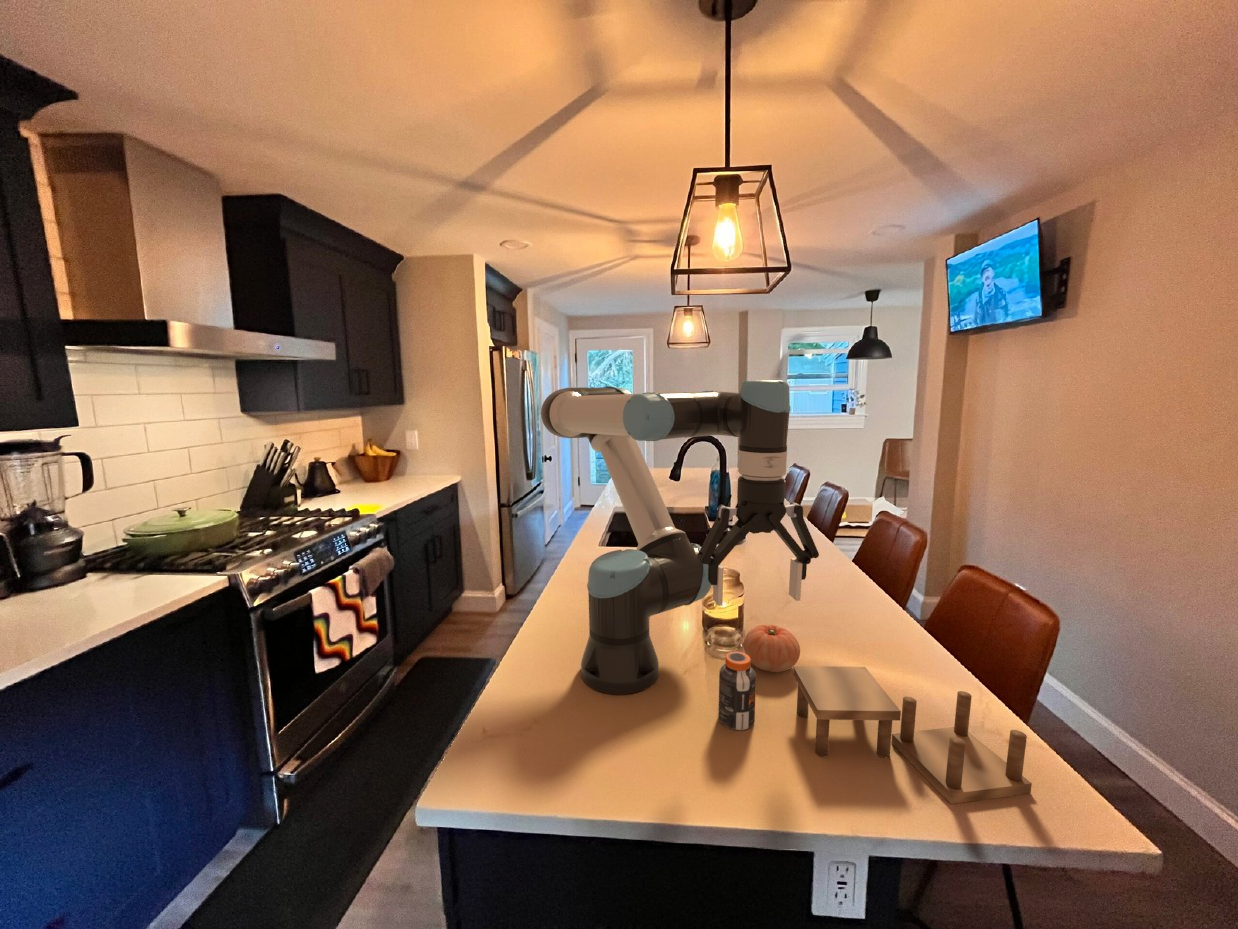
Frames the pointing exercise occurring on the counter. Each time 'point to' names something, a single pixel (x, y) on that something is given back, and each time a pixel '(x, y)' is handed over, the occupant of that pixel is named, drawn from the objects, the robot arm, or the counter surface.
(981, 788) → the upturned stool
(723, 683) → the pill bottle
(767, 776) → the counter surface
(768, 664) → the mini pumpkin
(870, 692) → the stool
